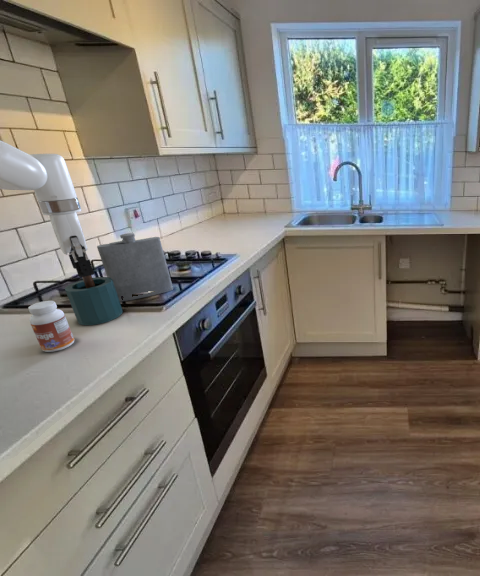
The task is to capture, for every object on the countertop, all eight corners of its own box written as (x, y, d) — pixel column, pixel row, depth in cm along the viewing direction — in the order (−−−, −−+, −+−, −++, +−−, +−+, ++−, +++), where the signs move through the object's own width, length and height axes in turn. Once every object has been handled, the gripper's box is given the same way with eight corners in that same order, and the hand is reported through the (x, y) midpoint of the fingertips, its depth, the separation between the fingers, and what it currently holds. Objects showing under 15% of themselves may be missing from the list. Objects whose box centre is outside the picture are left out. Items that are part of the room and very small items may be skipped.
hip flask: (172, 287, 121) (156, 228, 113) (174, 290, 118) (158, 230, 110) (115, 299, 113) (94, 237, 105) (115, 303, 109) (93, 239, 102)
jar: (81, 329, 95) (67, 294, 91) (75, 317, 102) (62, 284, 98) (126, 316, 102) (115, 283, 98) (118, 305, 108) (107, 274, 104)
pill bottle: (35, 352, 85) (15, 310, 80) (59, 339, 90) (41, 298, 86) (59, 353, 84) (40, 310, 80) (81, 339, 90) (65, 299, 86)
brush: (91, 319, 98) (69, 261, 92) (88, 314, 101) (67, 258, 95) (112, 313, 101) (92, 257, 95) (109, 308, 104) (89, 253, 98)
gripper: (38, 205, 93) (61, 267, 99) (43, 213, 82) (70, 283, 88) (74, 201, 98) (95, 261, 104) (85, 208, 86) (107, 275, 93)
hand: (83, 271), depth 96 cm, fingers open, 9 cm apart
